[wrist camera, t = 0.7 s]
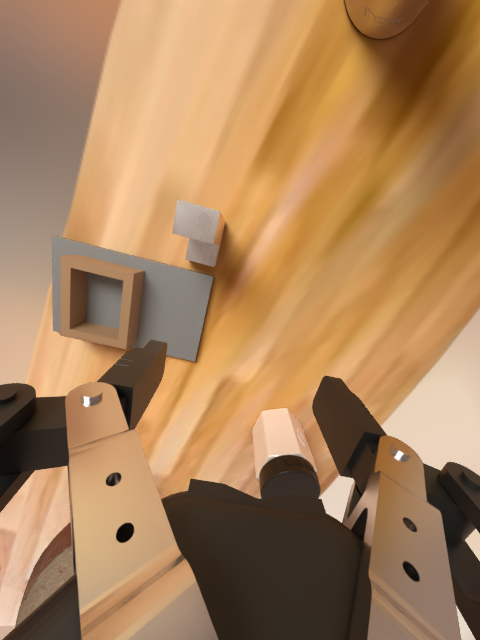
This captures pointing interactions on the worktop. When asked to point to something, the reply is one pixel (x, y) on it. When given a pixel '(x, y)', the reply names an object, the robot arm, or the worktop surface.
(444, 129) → the worktop surface
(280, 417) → the jar
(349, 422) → the robot arm
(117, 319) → the board
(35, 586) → the jug
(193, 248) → the block
